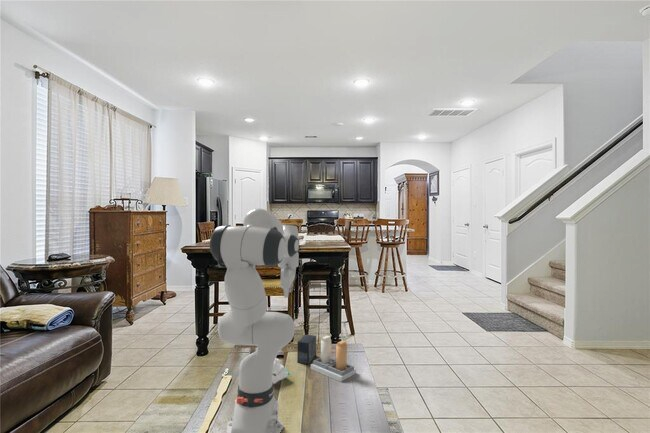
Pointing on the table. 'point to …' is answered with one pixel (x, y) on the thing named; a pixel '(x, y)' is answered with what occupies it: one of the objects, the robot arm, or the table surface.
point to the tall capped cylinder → (341, 355)
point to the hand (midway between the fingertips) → (287, 294)
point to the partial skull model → (279, 371)
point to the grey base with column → (330, 363)
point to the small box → (306, 349)
